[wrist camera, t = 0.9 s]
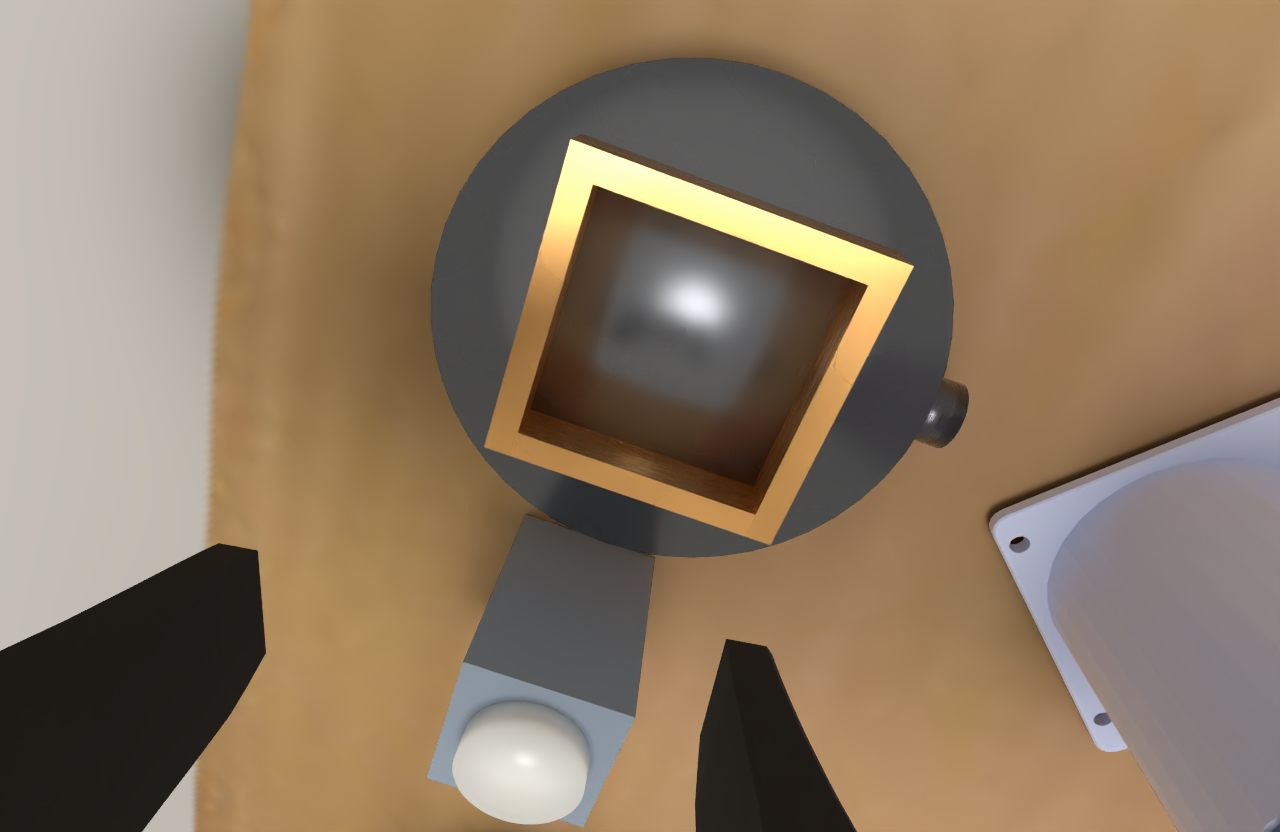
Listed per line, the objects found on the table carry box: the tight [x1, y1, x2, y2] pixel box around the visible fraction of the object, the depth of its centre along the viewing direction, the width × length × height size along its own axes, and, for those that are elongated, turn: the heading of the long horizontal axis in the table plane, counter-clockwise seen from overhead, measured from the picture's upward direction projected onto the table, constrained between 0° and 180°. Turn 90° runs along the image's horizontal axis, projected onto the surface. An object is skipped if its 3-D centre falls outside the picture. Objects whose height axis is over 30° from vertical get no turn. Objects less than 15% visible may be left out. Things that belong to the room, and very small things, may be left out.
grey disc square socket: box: [431, 58, 969, 557], centre depth 17 cm, size 12×11×4 cm
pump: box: [427, 514, 655, 827], centre depth 20 cm, size 4×5×7 cm
